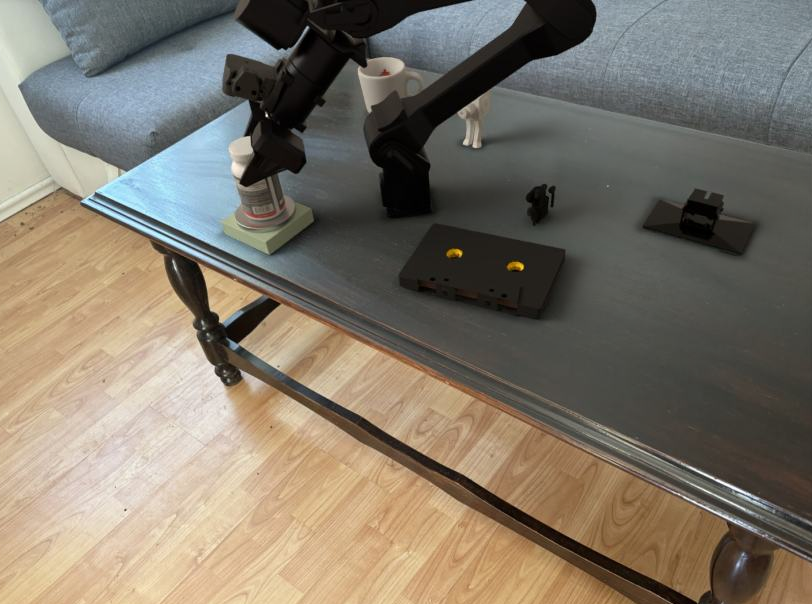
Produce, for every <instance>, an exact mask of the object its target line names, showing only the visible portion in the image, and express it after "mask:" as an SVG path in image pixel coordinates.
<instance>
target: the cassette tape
mask: <svg viewBox="0 0 812 604" xmlns="http://www.w3.org/2000/svg"><path fill="white" fill-rule="evenodd" d="M566 253H567V250H566V249H565V248H561V247H556V246H551V245H546V244H543V243H542V244H541V243H537V242H530V241H526V240H521V239H516V238H511V237H506V236H502V235H497V234H491V233H486V232H481V231H476V230H471V229H467V228H461V227H457V226H452V225H446V224H441V223H436V222H434V223H432V224H431V225H430V227H429V229H428V230H427V232H426V233H425V234H424V236H423V238H422V239H421V240H420V241H419V243H418V244H417V246H416V248H415V249H414V251H413V252H412V253H411V255H410V256H409V258H408V259H407V261H406V263H405V264H404V266H402V268H401V270H400V272H399V273H398V283H399V286H400V287H403V288H407V289H411V290H415V291H418V293H420V294H424V295H429V296H433V297H437V298H441V299H445V300H449V301H453V302H456V303H462V304H466V305H470V306H473V307H474V306H475V307H479V308H483V309H488V310H491V311H496V312H499V313H503V314H508V315H511V316H517V315H520V316H523V317H528V318H532V319H536V320H538V319H540V318H541V316H542V314H543V311H544V309H545V308H546V305H547V302H548V300H549V298H550V296H551V293H552V291H553V289H554V287H555V284H556V283H557V279H558V277H559V275H560V273H561V270H562V268H563V266H564V263H565V260H566ZM433 291H434V292H435V294H434V293H432V292H433ZM446 293H447V294H446ZM502 308H505V309H506V310H502Z"/></svg>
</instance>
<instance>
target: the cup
mask: <svg viewBox="0 0 812 604" xmlns="http://www.w3.org/2000/svg"><path fill="white" fill-rule="evenodd" d="M367 64H368V66H367V67H366V68H362V67H361V66H360V65H359V67H358V68H357V74H358V78H359V83H360V87H361V92H362V95H363V99H364V103H365V108H366V110H367V113H368V114H369V113H370V112H371V111H372V110H371V106H372V105H375V104H378V103H380V102H382V101H383V100H384V99H385V98H386V97H387V96H388V95H389V94H390V93H391V92H393V91H395V90H397V92H398V94H399V96H400V98H405V97H410V96H414V95H417V94H418V93H420V92H421V91H423V90H424V89H425V85H424V84H425V83H424V79H423V77H422V75H421V74H420V73H418V72H416V71H412V70H411V71H410V70H407V67H406V63H405V62H404V61H403V60H402V59H399V58H396V57H391V56H383V57H375V58H371V59H369V60H367ZM411 80H415V81H416V82H417V84H418V90H417V92H416V93H411V92H410V90H409V88H408V83H409V81H411Z"/></svg>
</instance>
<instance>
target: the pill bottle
mask: <svg viewBox="0 0 812 604" xmlns="http://www.w3.org/2000/svg"><path fill="white" fill-rule="evenodd" d="M228 151H229V156H230V159H231V160H232V163H231V167H230V169H231V174H232V177H233V180H234V183H235V186H236V190H237V192H238V195H239V199H240V202H241V204H242V205H243V208H244V211H245V213H246V215H247V216H248V217H249V218H251V219H254V220H268V219H272V218H274V217H276V216H278V215H279V214H281V213H282V211H283V210H284V208H285V199H284V196H283V195H284V192H283V188H282V184H281V181H280V178H279V177H280V176H279V173H278V174H275V175H272V176H270V177H268V178H266V179H264V180H262V181H259V182H257V183H255V184H253V185H251V186H249V187H244V186H242V185H240V184H239V181H240V178H241V176H242V174H243V171H244V169H245V167H246V165H247V163H248V161H249V159H250V156H251V154H252V152H253V149H252V147H251V142H250V136H247V137H243V136H242V137H240V138H237V139H235V140H234V141H232V142H231V143H230V144H229V146H228Z"/></svg>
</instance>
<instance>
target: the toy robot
mask: <svg viewBox="0 0 812 604" xmlns="http://www.w3.org/2000/svg"><path fill="white" fill-rule="evenodd" d="M491 94H492V89H490V90H489V91H487V92H486V93H484V94H483V95H482V96H480V97H479V98H477V99H476V100H474V101H473V102H472V103H470V104H469V105H467V106H466V107H464V108H463V109H462V110H460V111H459V112H457V113H456V114H458V117H459V118H461V119H462V120H465V123H466V134H465V139H464V140H463V142H462V145H464V146H471V145H472V148H474V149H479V148H482V146H483V145H482V134H483V131H484V123H483V121H484V120H483V118H484V117H485V116H487V114H488V113H489V112H491Z"/></svg>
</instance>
